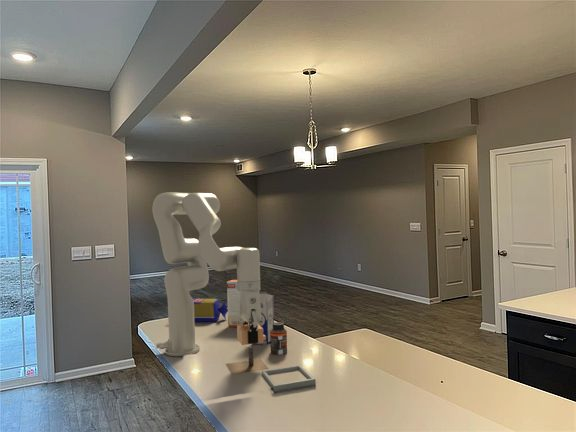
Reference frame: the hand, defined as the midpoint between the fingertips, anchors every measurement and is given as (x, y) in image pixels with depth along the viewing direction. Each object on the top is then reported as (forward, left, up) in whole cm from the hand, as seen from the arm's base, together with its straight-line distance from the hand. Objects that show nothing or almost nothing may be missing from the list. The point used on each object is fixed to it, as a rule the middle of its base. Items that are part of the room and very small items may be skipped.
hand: (250, 339), depth 136 cm
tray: (+8, -15, -9) cm, 19 cm away
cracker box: (+11, +54, -10) cm, 56 cm away
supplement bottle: (+13, +9, -10) cm, 18 cm away
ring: (0, 0, 0) cm, 0 cm away
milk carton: (+12, +26, -10) cm, 30 cm away
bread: (-6, +74, -10) cm, 75 cm away
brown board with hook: (-1, 0, -9) cm, 10 cm away
